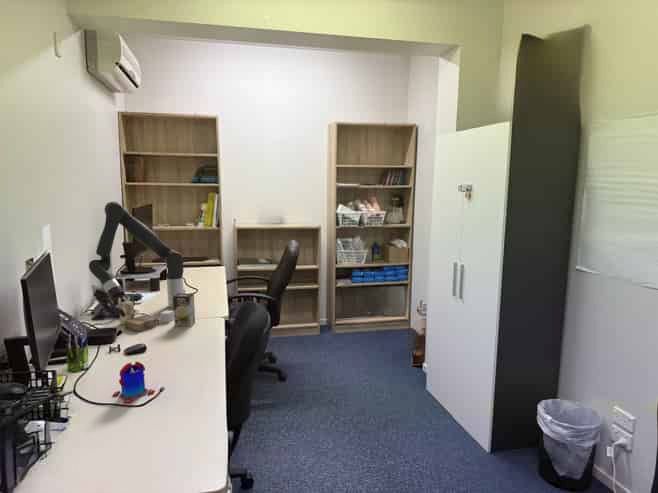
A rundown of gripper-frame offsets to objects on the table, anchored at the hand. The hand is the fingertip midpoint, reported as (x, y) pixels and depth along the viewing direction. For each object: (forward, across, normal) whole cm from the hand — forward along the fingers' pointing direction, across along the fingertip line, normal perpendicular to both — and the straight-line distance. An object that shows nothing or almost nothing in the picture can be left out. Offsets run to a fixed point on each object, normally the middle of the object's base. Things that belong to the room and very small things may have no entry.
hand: (129, 314), depth 234 cm
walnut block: (+10, 0, -3) cm, 11 cm away
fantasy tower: (+54, -45, -47) cm, 84 cm away
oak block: (+2, 0, +5) cm, 5 cm away
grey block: (+13, +14, -5) cm, 20 cm away
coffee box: (+22, +15, -14) cm, 30 cm away
